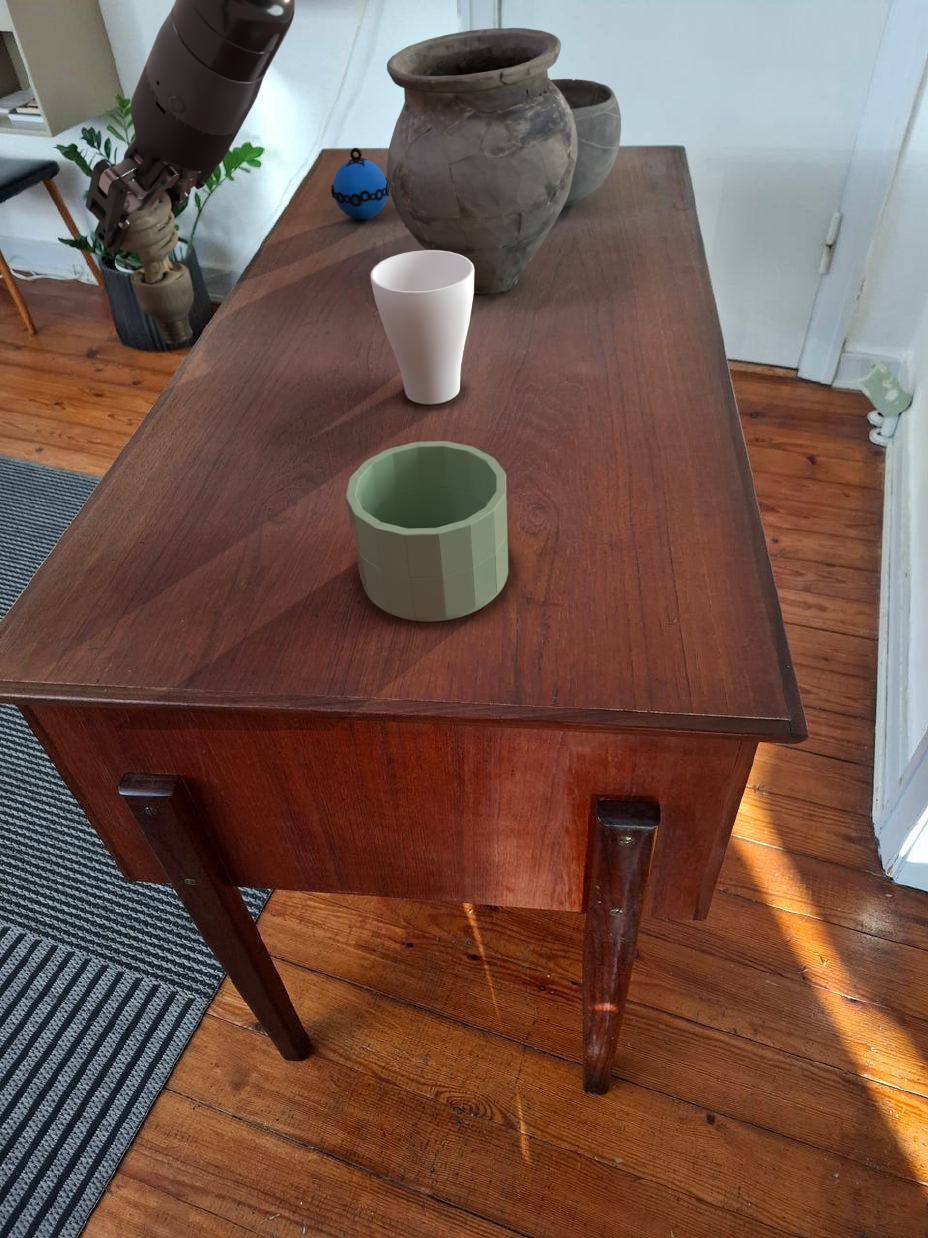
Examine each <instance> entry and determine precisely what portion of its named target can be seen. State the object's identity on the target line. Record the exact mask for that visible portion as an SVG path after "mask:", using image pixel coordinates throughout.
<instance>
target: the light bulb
mask: <svg viewBox="0 0 928 1238" xmlns="http://www.w3.org/2000/svg"><path fill="white" fill-rule="evenodd" d="M130 181H131V183H132V184H133V185H134V186H135V187H136V188H137V189H138V190H139V192H140V193H141V194H142V195H143V196H145V195H146V194H147V193H148V192H145V191H144V190H142V189H141V187H140V186H139V185H138V184H137V183H136V182H135V181H134V180H130ZM129 206H130V202H129V201H128V199H127V198H126V200H125V203H124V207H123V209H124V210H125V211H126V210H127V209H128V207H129ZM130 225H131V226H130V228H129V230H128V232H127V234H126V236H125V238H124V241H123V243H122V245H121V247H120V249H121V250H122V251H123V252H128V253H129V252H132V253H133V252H135V253H136V254H138V257H139V259H140V260H139V261H140V262H141V264H142V266H143V267H141V268H138V269H137V270H135V271H133V273H132V274H131V276H130V283H131V285H132V289H133V292H134V296H135V298H136V300H137V303H138V306H139V307H140V308H141V309H142V311H143V312H144V313H146V315H148V316H150V318H152V319H153V320H154V321H155V322H156V325H157V326H158V329H159V330H160V333H161V338H162V339H163V340H164V342H165V343H166V344H168V345H175V346H176V347H177V348H187V347H188V346H189V345H190V340H191V338H192V337H193V334H194V333H193V330H192V327H191V326H190V322H189V313H190V311H191V308H192V306H193V304H194V302H195V301H194V300H195V292H194V291H195V290H194V287H193V286H194V285H193V283H192V278H191V275H190V271H189V268H188V267H187V266H186V265H184V264H182V263H180V262H175V261H171V260H170V259H169V255H170V254H171V253H172V252H173V251H174V250H175V248H176V247H177V245H178V243H179V234H178V231H177V229H176V228H175V226H176V218H175V214H174V215H173V213H172V212H171V200H170V197H169V195H168V194H167V193H166V192H165V191H164V192H163V194H162V195H161V196H160V197H159V199H158V200H157V201H156V203H155V204H154V205H153V206H152V208H151V209H150V210H147V211H140V212H139V214H138V215H137V216H136V218H135V219H134V220H133V221H132V223H131V224H130Z"/></svg>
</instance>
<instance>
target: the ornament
mask: <svg viewBox="0 0 928 1238" xmlns="http://www.w3.org/2000/svg"><path fill="white" fill-rule="evenodd" d="M355 153H357V156H356V155H355ZM349 156H350V159H349V160H348V161H346V162H344V163H343V164H342V165H340V167H339V168H338V169H337V170H336V172H335V175H334V178H333V182H332V184H331V186H330V192H331V197H332V199H334V200H335V202H336V204H337V206H338V208H339V209H340V210H341V211H342V212H343V213H344V214H345V215H347V216H349V217H350V218H352V219H355V220H360V221H365V220H369V219H372V218H373V217H375V216H377V215H378V214H379V213H380V212H381V211H382V209H383V208H384V207H385V205H386V203H387V199H388V197H389V196H390V189H389V184H388V178H387V177H386V176H385V174H384V172H383V171H382V169H381V168H380V167H379V166H378V165H377V164H376V163H374V162H372V161H370V160H368V159H367V158H364V157H362V156H363V153H362V150H361V149H360V148H358V147H353V148H352V149H351V150H350V152H349Z"/></svg>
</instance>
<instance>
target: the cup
mask: <svg viewBox="0 0 928 1238" xmlns="http://www.w3.org/2000/svg"><path fill="white" fill-rule="evenodd" d="M370 282H371V287H372V292H373V297H374V301H375V305H376V308H377V312H378V315H379V317H380V321H381V323H382V326H383V330H384V332H385V334H386V337H387V339H388V341H389V344H390V347H391V349H392V352H393V354H394V357H395V359H396V363H397V365H398V369H399V371H400V374H401V380H402V384H403V388H404V393H405V396H406V398H407V399H409V400H411V402H414V403H416V404H421V405H439V404H443V403H446V402H448V401H451V400H452V399H454V398H456V396H458V395H459V393H460V390H461V372H462V371H461V368H462V362H463V356H464V350H465V345H466V341H467V335H468V331H469V326H470V322H471V315H472V306H473V302H474V301H473V299H474V294H475V293H474V266H473V264H472V262H471V261H470V260H469V259H468V258H466V257H464V256H462V255H460V254H456V253H452V252H447V251H440V250H425V249H424V250H413V251H407V252H403V253H399V254H396V255H392V256H390V257H387V258H385V259H383V260H381V261H380V262H378V263H377V264H376V265H374V267H373V269H372V270H371V271H370Z"/></svg>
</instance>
